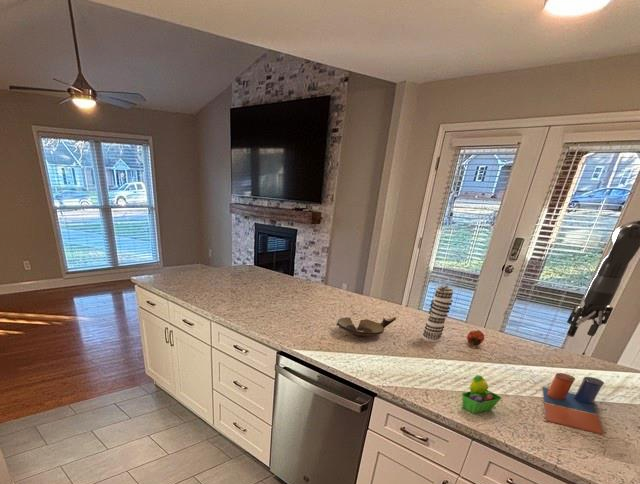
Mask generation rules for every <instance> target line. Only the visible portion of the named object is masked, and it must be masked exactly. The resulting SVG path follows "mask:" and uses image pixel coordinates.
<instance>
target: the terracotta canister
mask: <svg viewBox="0 0 640 484" xmlns="http://www.w3.org/2000/svg"><path fill="white" fill-rule="evenodd" d="M575 380H576V378H575V377H574V376H573V375H571V374H568V373H563V372H557V373H555V375H554V378H553V380H552V381H551V383H550V386H549V390H548V392H547V395H548V396H549V397H551V398H554V399H559V400H563V399H565V398H566V396H567V394H568V393H570V390H571V387H573V384H574V382H575Z"/></svg>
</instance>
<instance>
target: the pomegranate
mask: <svg viewBox="0 0 640 484" xmlns="http://www.w3.org/2000/svg"><path fill="white" fill-rule="evenodd" d="M484 340H485V333H484V332H482V331H481V330H480V329H477V330H471V331H469V333H467V336H466V341H467V343H468V344H470V345H471V346H470V347H472V346H473V345H475V346H479V345H481V344H482V343H483V342H484Z"/></svg>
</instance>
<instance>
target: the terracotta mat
mask: <svg viewBox="0 0 640 484" xmlns="http://www.w3.org/2000/svg"><path fill="white" fill-rule="evenodd" d="M544 410H545V421H546V422H548V423H552V424H557V425H559V426H560V425H561V426H565V427H568V428H573V429H578V430H582V431H585V432H588V433H593V434H598V435H600V436H601V435H602V436H603V435H604V432H603V429H602V426H601V423H600V420H599V417H598V414H595V413H590V412H586V411H582V410H577V409H573V408H569V407H564V406H560V405H555V404H551V403H547V402H544Z"/></svg>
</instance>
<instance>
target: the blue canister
mask: <svg viewBox="0 0 640 484" xmlns="http://www.w3.org/2000/svg"><path fill="white" fill-rule="evenodd" d="M604 384H605V382H604V381H603V380H601V379H599V378H596V377H592V376H584V377H583V379H582V381H581V383H580V385H579V386H578V389H577V390H576V392H575V393H574V394H575V396H574V399H575V400H577V401H579V402H582V403H586V404H592V403H593V404H594V402H595V400H596V398H597V396H598V394H599V393H600V391H601V389H602V387H603V386H604Z"/></svg>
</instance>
